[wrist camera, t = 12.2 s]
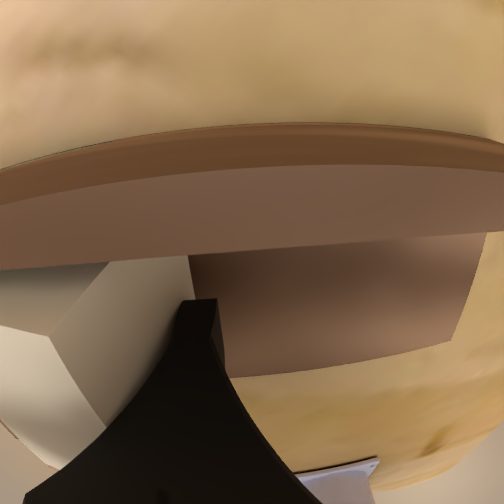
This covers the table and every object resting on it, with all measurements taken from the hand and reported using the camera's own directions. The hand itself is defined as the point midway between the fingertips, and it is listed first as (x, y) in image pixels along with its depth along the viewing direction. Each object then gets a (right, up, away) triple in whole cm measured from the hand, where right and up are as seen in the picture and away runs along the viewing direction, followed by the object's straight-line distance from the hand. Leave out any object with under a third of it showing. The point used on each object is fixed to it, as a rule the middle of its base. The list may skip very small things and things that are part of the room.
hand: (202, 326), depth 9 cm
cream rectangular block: (-3, +1, +1) cm, 3 cm away
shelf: (0, +2, +2) cm, 2 cm away
